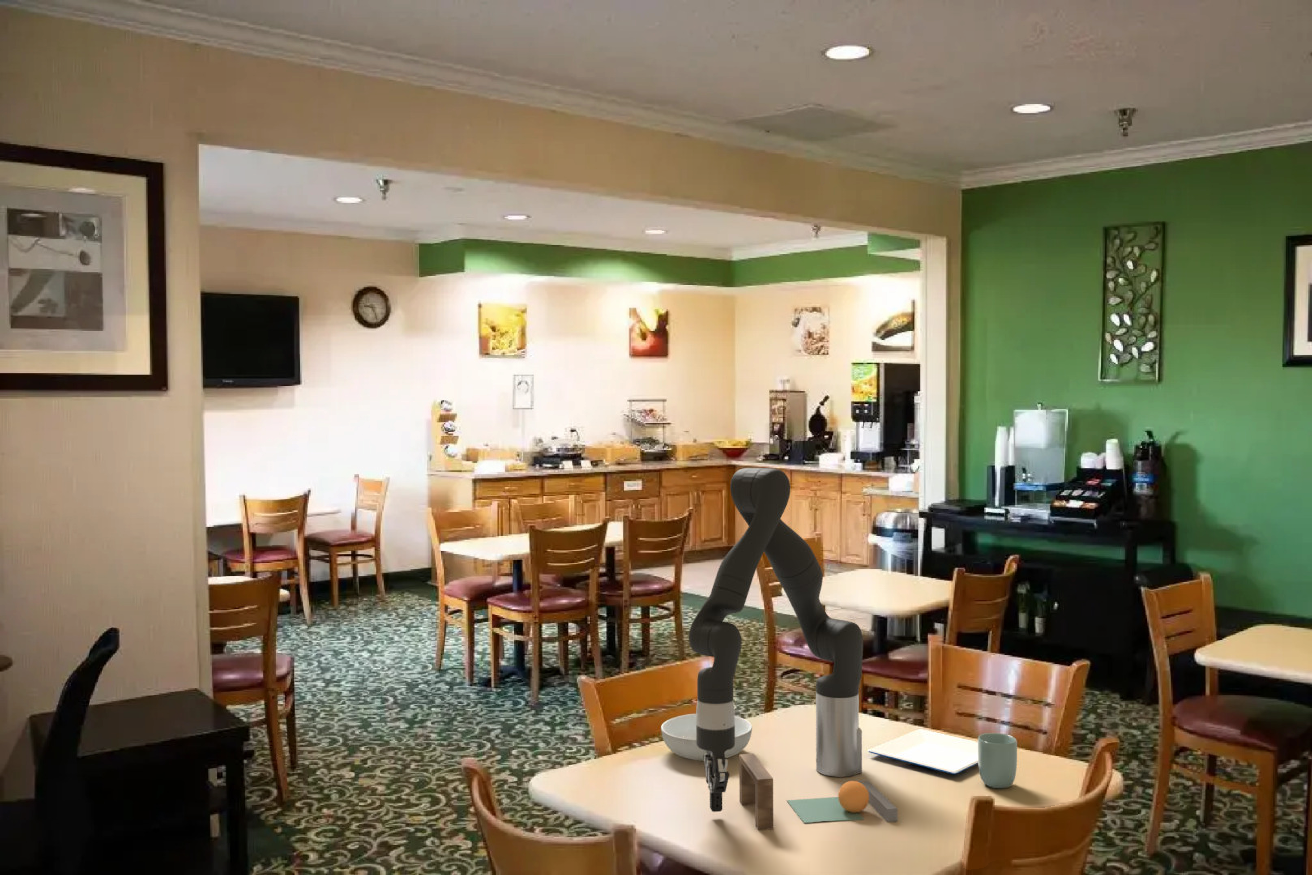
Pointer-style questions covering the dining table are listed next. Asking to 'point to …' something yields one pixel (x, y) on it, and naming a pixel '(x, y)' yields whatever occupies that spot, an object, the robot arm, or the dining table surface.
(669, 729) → the serving bowl
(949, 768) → the plate
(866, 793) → the ball
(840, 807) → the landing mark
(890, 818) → the stopper
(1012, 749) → the cup
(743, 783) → the bridge
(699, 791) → the dining table surface
